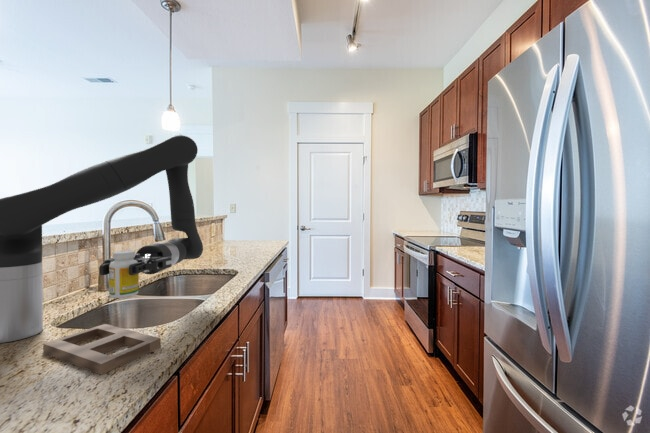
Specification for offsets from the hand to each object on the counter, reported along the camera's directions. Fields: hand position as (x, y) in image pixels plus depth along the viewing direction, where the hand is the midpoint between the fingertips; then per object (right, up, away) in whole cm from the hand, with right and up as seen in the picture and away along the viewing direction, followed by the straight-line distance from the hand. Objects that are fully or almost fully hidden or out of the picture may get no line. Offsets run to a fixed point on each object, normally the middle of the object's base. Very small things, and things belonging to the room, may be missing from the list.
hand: (116, 270), depth 62 cm
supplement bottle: (0, -6, +3) cm, 7 cm away
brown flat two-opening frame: (-4, -18, +2) cm, 18 cm away
